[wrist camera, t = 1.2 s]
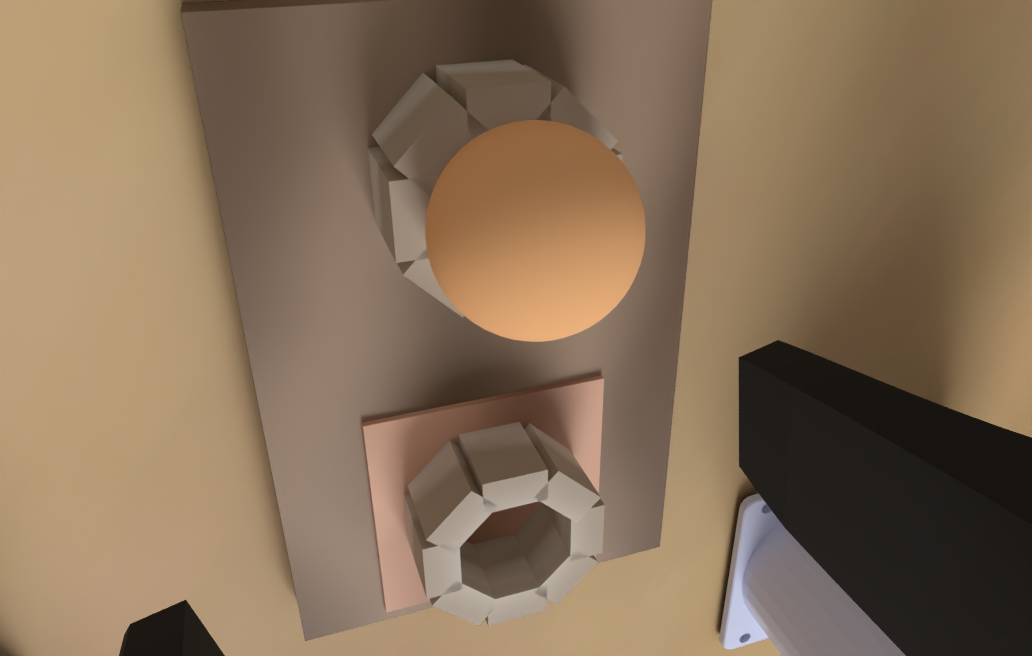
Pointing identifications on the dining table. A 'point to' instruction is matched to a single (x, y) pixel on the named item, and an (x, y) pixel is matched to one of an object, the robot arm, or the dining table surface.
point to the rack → (423, 305)
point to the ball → (535, 230)
